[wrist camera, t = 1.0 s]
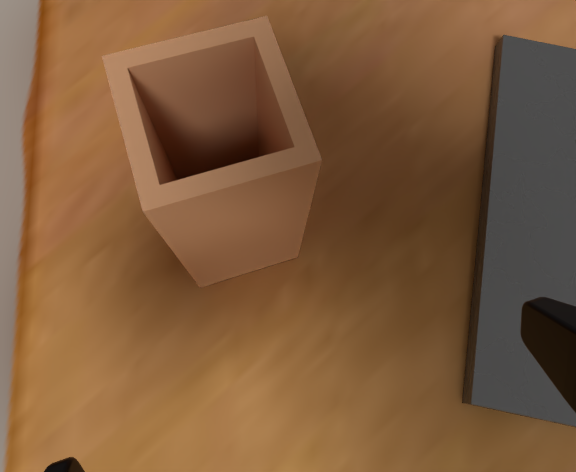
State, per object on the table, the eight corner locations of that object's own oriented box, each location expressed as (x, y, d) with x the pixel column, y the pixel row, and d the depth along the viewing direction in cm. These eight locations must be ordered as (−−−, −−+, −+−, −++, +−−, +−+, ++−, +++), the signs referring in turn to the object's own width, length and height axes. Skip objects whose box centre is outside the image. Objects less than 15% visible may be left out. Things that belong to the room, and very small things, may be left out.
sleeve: (297, 257, 24) (322, 159, 13) (200, 287, 23) (142, 211, 12) (267, 169, 25) (267, 15, 14) (173, 195, 24) (102, 55, 14)
